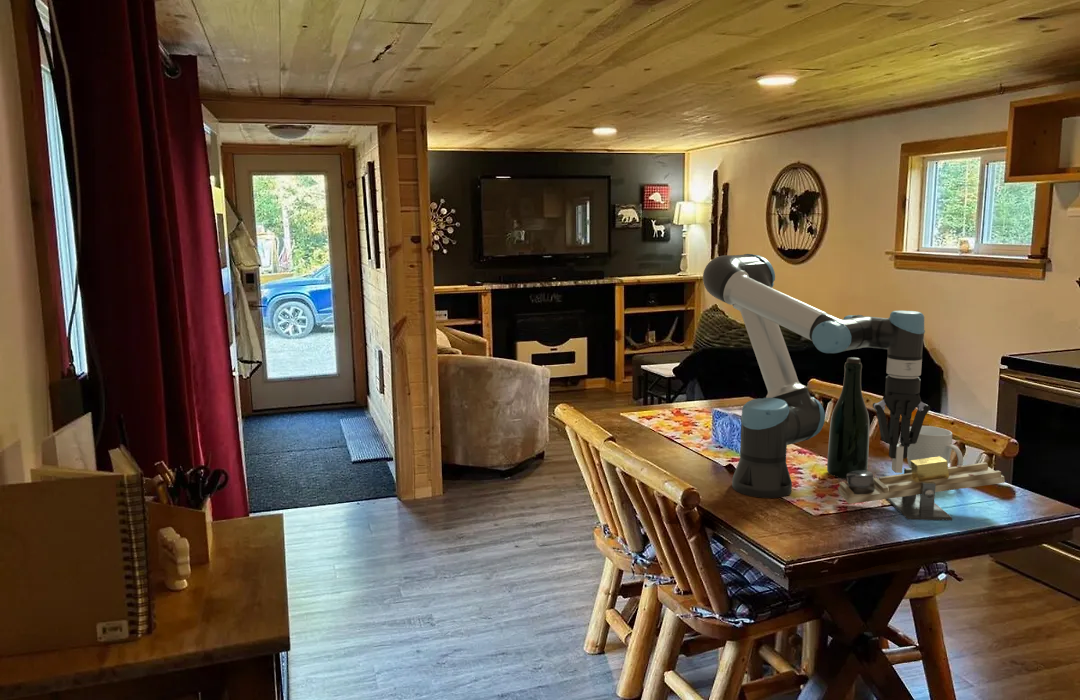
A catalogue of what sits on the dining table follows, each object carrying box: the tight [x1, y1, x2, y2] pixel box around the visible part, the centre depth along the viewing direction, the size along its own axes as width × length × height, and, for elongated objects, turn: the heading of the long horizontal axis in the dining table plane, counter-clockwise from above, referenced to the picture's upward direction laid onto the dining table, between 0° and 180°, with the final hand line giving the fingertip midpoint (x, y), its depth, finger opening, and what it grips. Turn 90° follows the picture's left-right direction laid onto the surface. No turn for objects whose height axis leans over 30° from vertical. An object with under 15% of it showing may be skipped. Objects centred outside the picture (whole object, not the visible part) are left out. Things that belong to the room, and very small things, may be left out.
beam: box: [837, 461, 1006, 505], centre depth 188 cm, size 36×8×3 cm, turn 85°
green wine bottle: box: [826, 356, 870, 480], centre depth 213 cm, size 10×10×33 cm
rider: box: [911, 456, 949, 482], centre depth 188 cm, size 7×4×5 cm, turn 85°
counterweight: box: [846, 470, 875, 494], centre depth 190 cm, size 6×6×4 cm
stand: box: [886, 467, 953, 522], centre depth 189 cm, size 10×15×8 cm, turn 175°
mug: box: [906, 425, 964, 468], centre depth 211 cm, size 15×11×13 cm
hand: (896, 470), depth 188 cm, fingers closed
